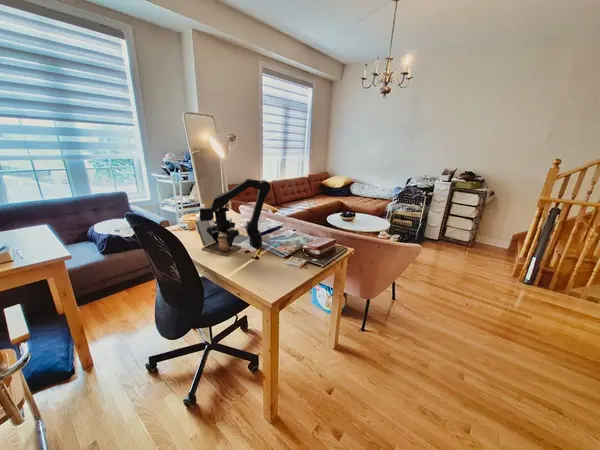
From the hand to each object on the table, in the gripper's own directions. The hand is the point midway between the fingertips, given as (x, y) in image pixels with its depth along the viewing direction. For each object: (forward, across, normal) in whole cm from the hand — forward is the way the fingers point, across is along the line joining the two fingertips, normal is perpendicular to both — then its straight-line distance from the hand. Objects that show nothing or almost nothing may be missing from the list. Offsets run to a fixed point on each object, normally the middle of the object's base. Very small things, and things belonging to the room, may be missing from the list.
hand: (224, 245), depth 136 cm
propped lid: (-6, +13, 0) cm, 15 cm away
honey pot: (+4, +34, -18) cm, 39 cm away
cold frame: (+3, +5, 0) cm, 6 cm away
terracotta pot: (+2, 0, 0) cm, 2 cm away
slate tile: (+4, +4, -16) cm, 17 cm away
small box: (+4, +18, -20) cm, 28 cm away
